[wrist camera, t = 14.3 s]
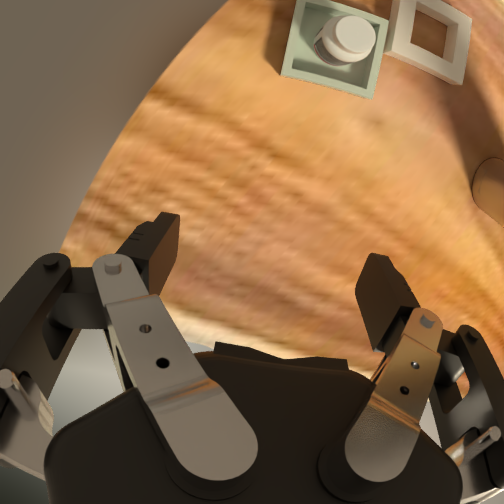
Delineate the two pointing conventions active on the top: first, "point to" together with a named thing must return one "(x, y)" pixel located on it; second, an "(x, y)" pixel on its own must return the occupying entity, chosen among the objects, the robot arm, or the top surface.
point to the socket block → (402, 49)
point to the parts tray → (313, 68)
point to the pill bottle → (344, 40)
